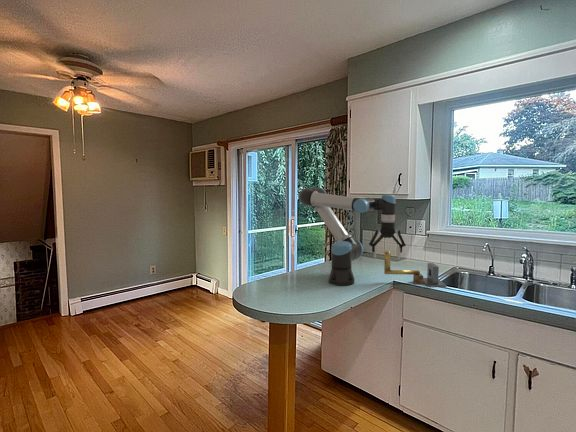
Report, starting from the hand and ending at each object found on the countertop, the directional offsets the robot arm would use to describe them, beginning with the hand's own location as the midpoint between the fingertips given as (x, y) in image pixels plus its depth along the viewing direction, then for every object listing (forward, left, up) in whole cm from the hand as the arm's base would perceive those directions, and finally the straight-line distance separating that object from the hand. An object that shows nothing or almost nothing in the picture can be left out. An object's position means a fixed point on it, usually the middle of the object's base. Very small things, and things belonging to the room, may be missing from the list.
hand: (386, 257), depth 184 cm
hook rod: (+9, 0, -10) cm, 13 cm away
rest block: (+18, 0, -14) cm, 23 cm away
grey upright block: (+26, 0, -14) cm, 30 cm away
